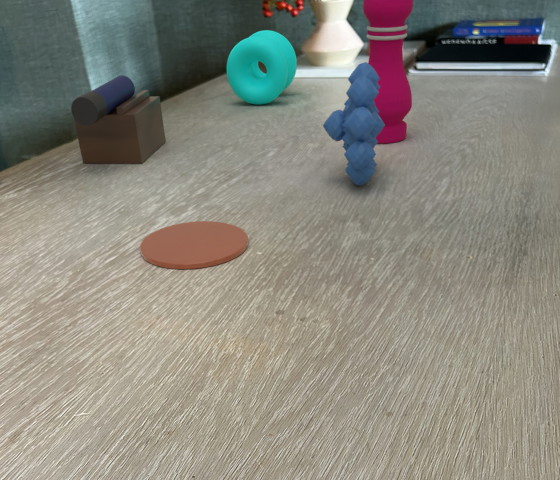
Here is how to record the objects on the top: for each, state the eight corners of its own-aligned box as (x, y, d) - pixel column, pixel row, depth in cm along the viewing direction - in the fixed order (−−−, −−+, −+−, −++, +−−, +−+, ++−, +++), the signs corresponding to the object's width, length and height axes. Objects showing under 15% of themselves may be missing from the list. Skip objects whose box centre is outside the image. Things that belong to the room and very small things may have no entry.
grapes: (327, 163, 82) (327, 56, 75) (383, 163, 81) (388, 54, 74) (318, 196, 72) (316, 76, 65) (381, 196, 71) (386, 75, 64)
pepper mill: (421, 137, 89) (433, -39, 78) (380, 148, 86) (387, -34, 75) (384, 127, 94) (391, -39, 83) (344, 137, 91) (346, -35, 80)
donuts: (299, 93, 116) (297, 28, 110) (286, 106, 108) (284, 37, 102) (243, 93, 118) (239, 29, 112) (227, 106, 110) (221, 38, 104)
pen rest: (142, 163, 85) (133, 107, 81) (82, 163, 86) (71, 107, 82) (165, 141, 93) (158, 89, 89) (111, 141, 94) (102, 90, 91)
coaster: (157, 278, 57) (156, 273, 57) (129, 238, 65) (128, 233, 64) (265, 254, 60) (264, 249, 60) (225, 218, 68) (225, 214, 68)
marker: (100, 125, 78) (94, 96, 76) (74, 126, 79) (68, 97, 77) (137, 100, 89) (133, 74, 87) (114, 100, 89) (110, 74, 87)
